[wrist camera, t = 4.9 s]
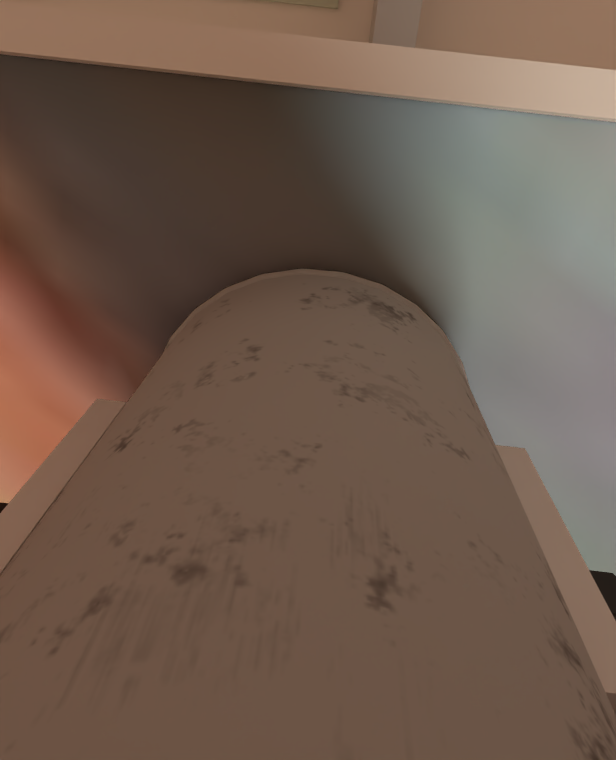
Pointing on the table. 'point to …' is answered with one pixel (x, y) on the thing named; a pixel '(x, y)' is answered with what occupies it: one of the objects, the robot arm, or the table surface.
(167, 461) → the white speckled round cylinder
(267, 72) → the tray
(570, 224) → the table surface
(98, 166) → the table surface
